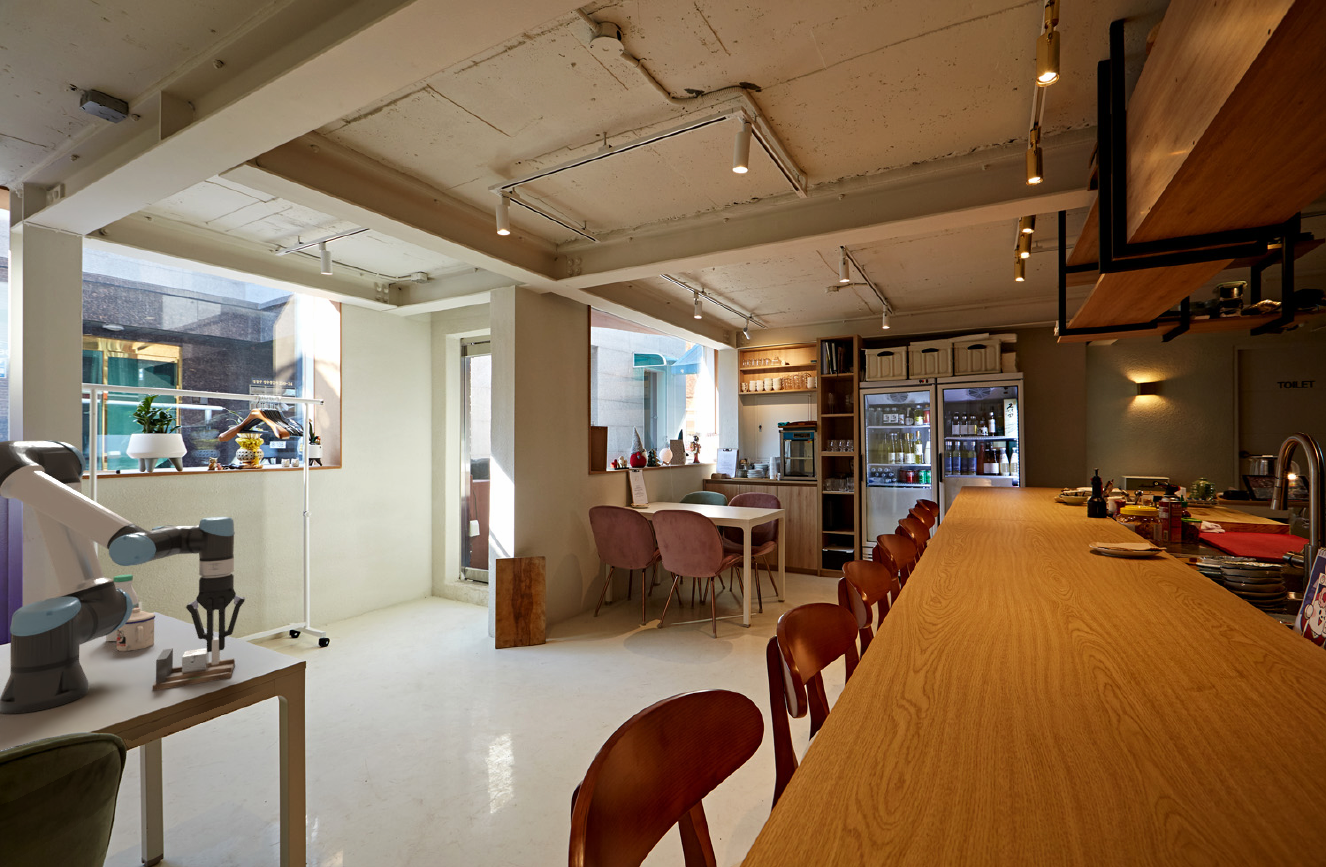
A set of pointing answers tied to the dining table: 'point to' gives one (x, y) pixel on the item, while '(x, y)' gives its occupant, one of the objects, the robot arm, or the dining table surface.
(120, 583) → the milk bottle
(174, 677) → the gauge board
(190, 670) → the white box
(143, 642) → the teacup with lid
